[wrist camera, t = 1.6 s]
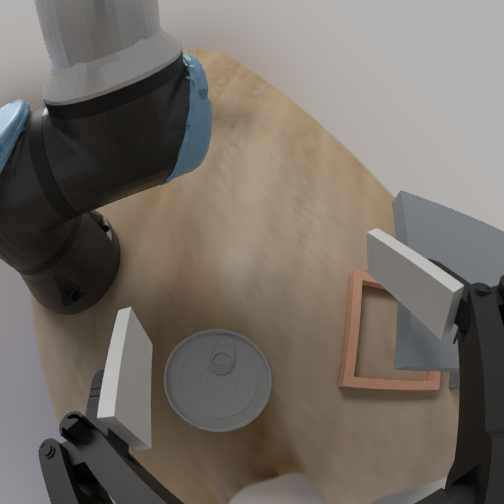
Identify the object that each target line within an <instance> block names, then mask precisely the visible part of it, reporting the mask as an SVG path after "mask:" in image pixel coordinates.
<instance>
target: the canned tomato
mask: <svg viewBox="0 0 504 504" xmlns="http://www.w3.org/2000/svg"><path fill="white" fill-rule="evenodd" d="M163 381H164V390H165V393H166V396H167V399H168V401H169V403H170V405H171V406H172V408H173V409H174V411H175V412H176V413H177V414H178V415H179V416H180V417H181V418H182V419H183V420H185V421H186V422H187V423H189V424H190V425H192V426H194V427H196V428H199V429H202V430H205V431H210V432H229V431H233V430H236V429H240V428H242V427H244V426H246V425H248V424H249V423H251V422H252V421H253V420H254V419H256V418H257V417H258V416H259V415H260V413H261V412H262V411H263V410H264V408H265V406H266V404H267V402H268V400H269V398H270V394H271V390H272V375H271V369H270V366H269V363H268V361H267V359H266V357H265V355H264V354H263V352H262V351H261V349H260V348H259V347H258V346H257V345H256V344H255V343H254V342H253V341H251V340H250V339H248V338H247V337H246V336H244V335H241V334H239V333H237V332H234V331H231V330H227V329H216V328H215V329H206V330H202V331H199V332H195V333H193V334H191V335H190V336H188V337H186V338H185V339H183V340H182V341H181V342H180V343H178V345H177V346H176V347H175V348H174V349H173V350H172V352H171V354H170V356H169V357H168V359H167V362H166V365H165V368H164V377H163Z"/></svg>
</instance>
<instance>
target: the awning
mask: <svg viewBox="0 0 504 504" xmlns="http://www.w3.org/2000/svg"><path fill="white" fill-rule="evenodd" d="M392 206H393V215H394V225H395V237H396V240H398V241H399V242H401V243H402V244H404V245H406V246H407V247H409V248H410V249H412V250H413V251H415V252H416V253H418V254H420V255H421V256H423V257H424V258H426V259H432V260H435V261H438V262H440V263H441V264H443V265H444V266H446V268H449V269H450V270H451V271H453V272H455V273H456V274H458V275H459V276H460V277H462V278H463V279H465V280H466V281H468V282H469V283H470V284H473V283H478V282H480V283H484V284H486V285H488V286H489V287H493V286H496V285H498V284H499V281H500V278H501V276H502V275H504V232H503V231H501V230H499V229H497V228H495V227H493V226H490V225H488V224H486V223H484V222H482V221H479V220H477V219H475V218H472V217H470V216H468V215H465V214H463V213H460V212H458V211H455V210H453V209H450V208H448V207H445V206H443V205H440V204H437V203H435V202H432V201H429V200H426V199H423V198H421V197H418V196H415V195H412V194H409V193H406V192H404V191H400V192H399V194H398V195H397V197H396V198H395V199H394V201H393V202H392ZM457 329H458V326H457V325H456V324H455V323H454V325H453V328H452V331H451V333H450V334H449V335H447V336H446V337H444V338H443V339H441V340H440V339H439V338H438V337H437V336H436V335H435V334H434V333H432V332H431V331H430V330H429V329H428V328H427V327H426V326H425V325H424V324H423V323H422V322H421V321H420V320H419V319H418V318H417V317H416V316H415V315H414V314H412V313H411V312H410V311H409V310H408V309H407V308H406V307H405V306H404V305H403V304H402V303H400V302H399V301H398V312H397V338H396V353H395V364H394V369H397V370H414V371H446V372H450V384H449V389H452V388H460V376H459V354H458V341H457V340H456V342H455V344H453V340H454V337H455V335H456V332H457Z"/></svg>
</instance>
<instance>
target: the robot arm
mask: <svg viewBox="0 0 504 504" xmlns="http://www.w3.org/2000/svg"><path fill="white" fill-rule="evenodd" d="M35 5H36V9H37V13H38V18H39V22H40V26H41V30H42V34H43V38H44V41H45V45H46V48H47V51H48V55H49V58H50V61H51V64H52V69H51V72H50V74H49V76H48V79H47V81H46V83H45V85H44V88H43V90H42V97H43V100H44V103H45V105H43V106H41V107H39V108H37V109H35V110H33V111H30V106H29V104H27V103H26V102H25V101H23V100H21V99H19V100H16V101H15V102H10V103H9V104H7V105H5V106H4V107H2V108H1V109H0V258H1V259H2V260H4V261H5V262H6V263H7V264H9V265H10V266H11V267H13V268H14V269H15V270H17V271H18V272H19V273H20V275H21V276H22V278H23V280H24V281H25V283H26V285H27V286H28V288H29V290H30V291H31V293H32V294H33V296H34V297H35V298H36V299H37V301H38V302H40V303H41V304H42V305H43V306H45V307H47V308H48V309H50V310H52V311H54V312H56V313H60V314H74V313H78V312H81V311H83V310H85V309H87V308H89V307H90V306H92V305H93V304H94V303H96V302H97V301H98V300H99V299H100V298H101V297H102V296H103V295H104V294H105V292H106V291H107V289H108V288H109V286H110V285H111V283H112V281H113V279H114V277H115V274H116V272H117V268H118V264H119V258H120V247H119V241H118V238H117V235H116V233H115V231H114V230H113V228H112V226H111V225H110V223H109V222H108V220H107V219H106V218H105V217H104V216H103V215H102V214H100V213H99V212H97V211H95V210H94V209H97V208H99V207H102V206H104V205H107V204H109V203H112V202H114V201H117V200H119V199H122V198H125V197H127V196H130V195H133V194H135V193H138V192H141V191H144V190H146V189H149V188H152V187H155V186H158V185H163V184H166V183H168V182H170V181H171V180H172V179H174V178H176V177H179V176H181V175H184V174H186V173H189V172H191V171H193V170H195V169H196V168H197V167H199V166H200V164H201V163H202V162H203V160H204V158H205V156H206V154H207V151H208V148H209V143H210V137H211V124H212V115H211V103H210V100H209V99H208V97H207V94H208V83H207V79H206V75H205V72H204V70H203V67H202V65H201V63H200V62H199V61H198V59H197V58H195V57H194V56H193V55H187V54H183V51H182V43H181V41H180V40H178V39H177V38H175V37H174V36H172V35H170V34H169V33H167V32H165V31H164V30H162V28H161V27H160V20H159V9H158V0H35ZM367 273H368V274H369V275H370V276H371V277H372V278H374V279H375V280H376V281H377V282H378V283H379V284H380V285H382V286H383V287H384V288H385V289H386V290H387V291H388V292H389V293H391V294H392V295H393V296H394V297H395V298H396V299H397V300H398V301H399V302H400V303H402V304H403V305H404V306H405V307H406V308H407V309H408V310H409V311H410V312H411V313H412V314H414V315H415V316H416V317H417V318H418V319H419V320H420V321H421V322H422V323H423V324H424V325H425V326H426V327H427V328H428V329H429V330H430V331H431V332H432V333H434V334H435V335H436V336H437V337H438V338H439V339H440V340H441V339H443V338H444V337H446V336H447V335H449V334H450V333H451V331H452V328H453V325H454V323H455V324H456V325H457V326H458V329H457V332H456V335H455V337H454V340H453V344H455V342H456V340H457V341H458V354H459V376H460V401H459V423H458V435H457V445H456V453H455V459H454V463H453V465H452V467H451V469H450V471H449V474H448V477H447V481H446V485H445V489H442V488H441V489H439V490H437V491H436V492H434V493H432V494H431V495H429V496H427V497H425V498H424V499H422V500H420V501H418V502H417V503H415V504H504V275H502V276H501V278H500V281H499V284H498V285H496V286H493V287H489V286H488V285H486V284H484V283H480V282H478V283H473V284H470V283H469V282H468V281H466V280H465V279H463V278H462V277H460V276H459V275H458V274H456V273H455V272H453V271H451V270H450V269H449V268H446V266H444V265H443V264H441V263H440V262H438V261H435V260H432V259H426V258H424V257H423V256H421V255H420V254H418V253H416V252H415V251H413V250H412V249H410V248H409V247H407V246H406V245H404V244H402V243H401V242H399V241H398V240H396V239H394V238H393V237H391V236H389V235H388V234H386V233H384V232H383V231H381V230H379V229H378V228H377V229H374V230H371V231H368V232H367ZM152 347H153V344H152V343H151V341H150V339H149V338H148V336H147V334H146V332H145V331H144V329H143V327H142V325H141V324H140V322H139V320H138V318H137V317H136V315H135V313H134V311H133V309H132V307H128V308H124V309H121V310H118V314H117V318H116V321H115V325H114V330H113V334H112V338H111V342H110V347H109V351H108V356H107V361H106V366H105V370H100V371H97V373H96V375H95V376H94V378H93V380H92V384H91V391H90V394H89V397H90V398H89V400H88V405H87V411H86V417H85V416H83V415H82V414H81V413H80V412H76V411H75V412H70V413H69V414H67V415H66V416H65V417H64V418H63V419H62V421H61V423H60V428H59V431H60V434H61V436H63V437H64V438H65V439H66V440H68V441H66V442H64V443H61V444H60V443H59V442H57V441H56V440H54V439H51V438H50V439H46V440H45V441H44V442H43V443H42V444H41V446H40V449H39V459H40V464H41V468H42V472H43V477H44V480H45V484H46V488H47V491H48V494H49V498H50V501H51V504H113V503H112V501H111V499H110V497H109V495H110V496H111V497H112V499H113V500H114V501H115V502H116V503H117V504H184V503H183V502H182V501H180V500H179V499H178V498H177V497H175V496H174V495H173V494H172V493H171V492H170V491H168V490H167V489H166V488H165V487H164V486H163V485H162V484H161V483H159V482H158V481H157V480H156V479H155V478H154V477H153V476H152V475H151V474H150V473H149V472H148V471H147V470H146V469H145V468H144V467H143V466H142V465H141V464H140V463H139V462H138V461H137V460H136V459H135V458H134V457H133V456H132V455H131V454H129V453H128V447H129V446H130V447H131V448H133V449H134V450H135V451H139V450H149V449H152V443H151V369H152ZM108 494H109V495H108Z"/></svg>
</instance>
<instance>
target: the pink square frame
mask: <svg viewBox="0 0 504 504" xmlns="http://www.w3.org/2000/svg"><path fill="white" fill-rule="evenodd" d="M362 285H364V286H369V287H374V288H379V289H384V290H386V289H385V288H384V287H383V286H382V285H380V284H379V283H378V282H377V281H376V280H375V279H374V278H372V277H371V276H370V275H369V274H368V273H367V272H364V271H360V270H355V269H354V270H353V271H352V272H351V274H350V282H349V296H348V309H347V319H346V329H345V338H344V347H343V354H342V362H341V369H340V376H339V382H338V386H339V387H349V388H362V389H377V390H405V391H432V390H439V388H440V377H441V371H428V378H427V381H414V380H390V379H375V378H363V377H354V371H355V364H356V355H357V347H358V337H359V326H360V314H361V298H362Z"/></svg>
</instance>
